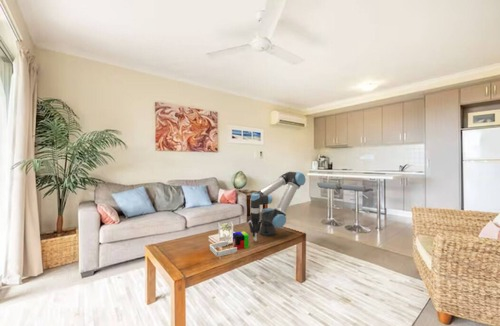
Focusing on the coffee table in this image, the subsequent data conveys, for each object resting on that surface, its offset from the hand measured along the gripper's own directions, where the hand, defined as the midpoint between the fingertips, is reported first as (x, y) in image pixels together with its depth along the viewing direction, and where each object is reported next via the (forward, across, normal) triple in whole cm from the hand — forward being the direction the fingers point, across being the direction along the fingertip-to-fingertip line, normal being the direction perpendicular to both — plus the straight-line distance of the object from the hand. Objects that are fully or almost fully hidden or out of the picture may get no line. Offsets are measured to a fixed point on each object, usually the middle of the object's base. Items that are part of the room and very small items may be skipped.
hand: (255, 240), depth 182 cm
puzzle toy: (+2, +14, 0) cm, 14 cm away
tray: (+2, +29, 0) cm, 29 cm away
